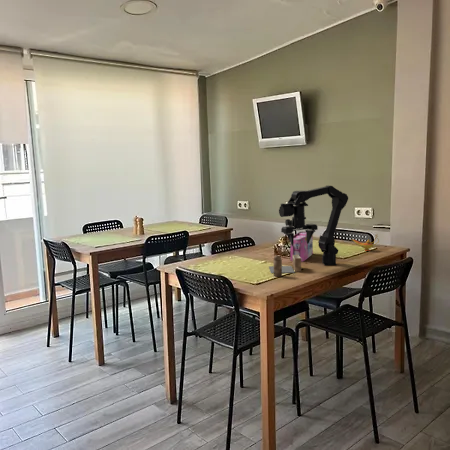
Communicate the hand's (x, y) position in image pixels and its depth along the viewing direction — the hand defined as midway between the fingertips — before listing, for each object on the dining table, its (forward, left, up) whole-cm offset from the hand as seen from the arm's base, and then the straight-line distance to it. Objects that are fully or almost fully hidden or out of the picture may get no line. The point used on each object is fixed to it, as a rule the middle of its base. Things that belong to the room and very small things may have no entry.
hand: (300, 244), depth 236 cm
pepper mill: (+13, +16, -13) cm, 24 cm away
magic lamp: (-45, -39, -13) cm, 61 cm away
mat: (+10, +4, -12) cm, 17 cm away
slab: (+2, +4, -13) cm, 13 cm away
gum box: (-5, -26, -13) cm, 30 cm away
